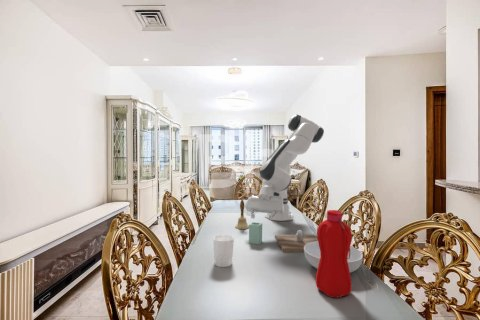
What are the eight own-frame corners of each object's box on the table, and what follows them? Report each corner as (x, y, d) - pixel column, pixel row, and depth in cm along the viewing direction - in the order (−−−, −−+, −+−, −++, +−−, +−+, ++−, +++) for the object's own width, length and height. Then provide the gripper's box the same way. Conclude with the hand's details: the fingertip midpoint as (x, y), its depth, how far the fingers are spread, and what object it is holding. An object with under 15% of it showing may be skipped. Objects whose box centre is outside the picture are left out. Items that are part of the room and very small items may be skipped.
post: (295, 239, 126) (295, 229, 126) (301, 239, 126) (301, 229, 126) (297, 241, 123) (297, 231, 123) (303, 241, 123) (303, 231, 123)
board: (274, 237, 134) (274, 234, 134) (313, 237, 135) (313, 234, 135) (282, 251, 114) (282, 248, 114) (327, 251, 115) (328, 248, 115)
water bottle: (336, 304, 74) (338, 216, 73) (311, 286, 84) (312, 208, 83) (360, 297, 77) (362, 213, 77) (333, 281, 87) (334, 206, 87)
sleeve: (252, 239, 130) (252, 221, 130) (262, 241, 128) (262, 223, 128) (248, 243, 125) (249, 224, 125) (258, 244, 123) (259, 225, 123)
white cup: (217, 269, 96) (218, 242, 96) (210, 261, 103) (210, 236, 103) (237, 265, 99) (237, 239, 99) (228, 258, 106) (228, 233, 106)
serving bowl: (300, 275, 92) (300, 256, 92) (306, 254, 111) (306, 238, 111) (365, 286, 84) (366, 265, 84) (359, 261, 104) (360, 244, 104)
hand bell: (232, 228, 151) (233, 200, 151) (238, 224, 158) (238, 198, 158) (246, 229, 148) (246, 201, 147) (251, 226, 155) (251, 199, 155)
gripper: (247, 192, 142) (240, 213, 133) (284, 194, 135) (279, 216, 126) (250, 199, 147) (243, 220, 138) (286, 201, 139) (282, 224, 130)
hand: (261, 218), depth 132 cm, fingers open, 8 cm apart
